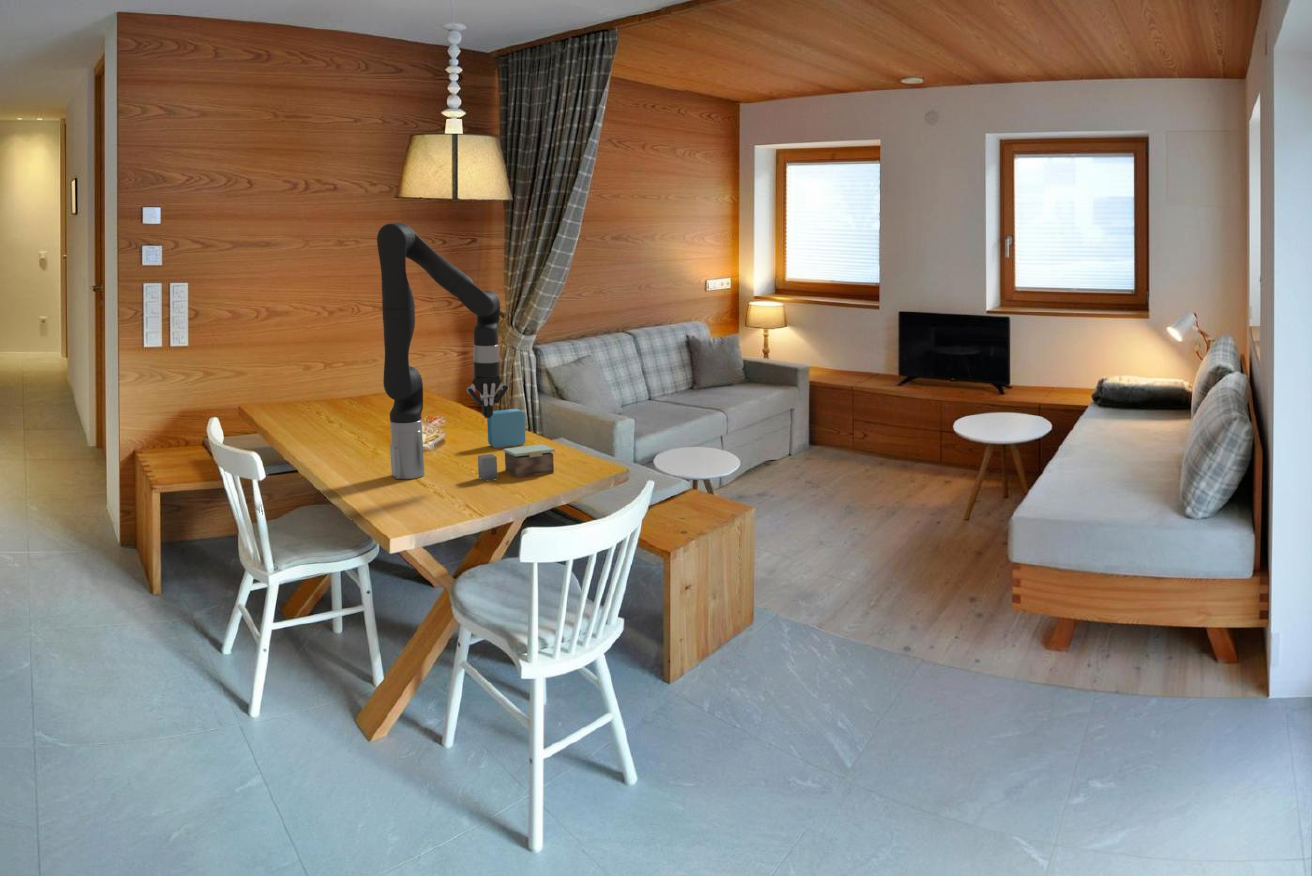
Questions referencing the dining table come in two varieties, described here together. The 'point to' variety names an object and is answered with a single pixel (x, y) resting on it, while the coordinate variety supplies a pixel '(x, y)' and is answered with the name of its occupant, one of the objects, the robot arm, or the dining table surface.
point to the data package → (506, 428)
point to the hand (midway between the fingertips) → (487, 417)
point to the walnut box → (529, 465)
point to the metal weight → (487, 467)
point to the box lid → (529, 450)
